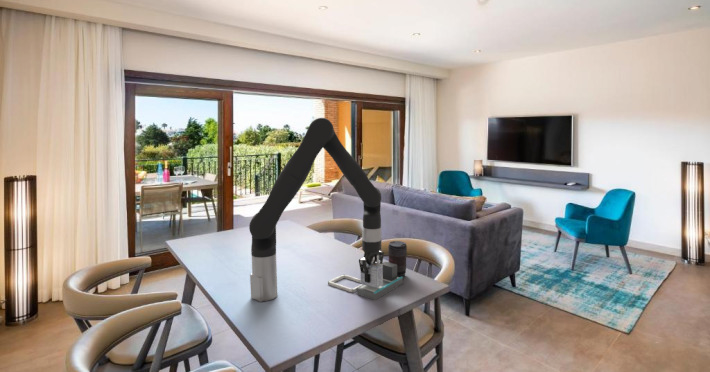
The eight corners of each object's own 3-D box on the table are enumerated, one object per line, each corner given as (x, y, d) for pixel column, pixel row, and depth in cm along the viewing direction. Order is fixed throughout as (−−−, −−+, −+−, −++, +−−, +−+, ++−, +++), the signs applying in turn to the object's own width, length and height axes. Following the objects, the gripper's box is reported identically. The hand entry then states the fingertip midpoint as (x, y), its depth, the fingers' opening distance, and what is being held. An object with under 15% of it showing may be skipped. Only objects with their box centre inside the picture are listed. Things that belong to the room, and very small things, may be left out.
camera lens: (385, 277, 162) (385, 244, 160) (392, 271, 169) (392, 239, 167) (402, 280, 158) (403, 247, 156) (408, 274, 165) (409, 242, 163)
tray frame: (352, 292, 146) (352, 290, 146) (327, 284, 154) (327, 281, 154) (368, 284, 154) (368, 281, 154) (344, 276, 162) (344, 274, 162)
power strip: (375, 300, 139) (375, 278, 138) (356, 293, 145) (356, 273, 144) (402, 283, 155) (402, 264, 154) (384, 278, 160) (385, 259, 159)
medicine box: (383, 284, 145) (383, 263, 143) (377, 288, 141) (377, 267, 140) (366, 280, 149) (366, 260, 148) (360, 284, 145) (360, 263, 144)
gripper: (374, 233, 150) (374, 272, 152) (352, 240, 139) (352, 283, 141) (390, 236, 145) (389, 277, 148) (368, 244, 134) (368, 288, 137)
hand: (371, 280), depth 145 cm, fingers closed on medicine box, 4 cm apart
